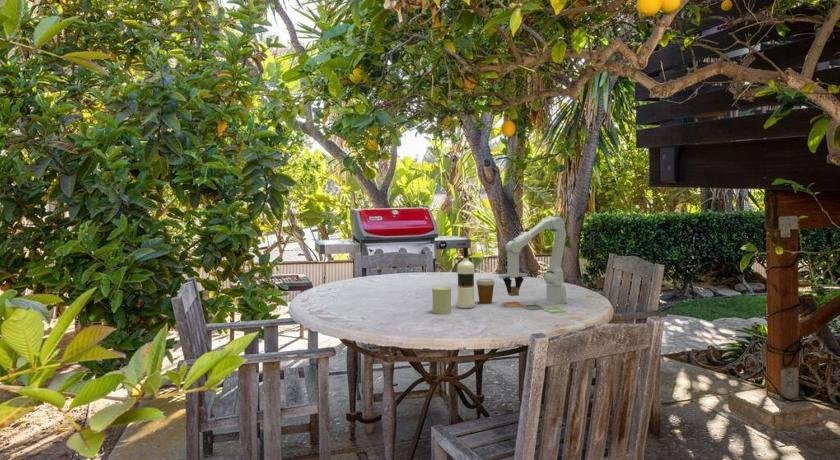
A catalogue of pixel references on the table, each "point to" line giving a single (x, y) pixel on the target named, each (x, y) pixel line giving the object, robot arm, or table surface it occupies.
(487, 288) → the disposable coffee cup
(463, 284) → the vodka
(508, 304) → the terracotta dish
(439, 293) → the can
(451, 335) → the table surface
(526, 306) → the slate dish
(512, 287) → the letter cube
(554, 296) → the robot arm
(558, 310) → the sage dish
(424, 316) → the table surface
